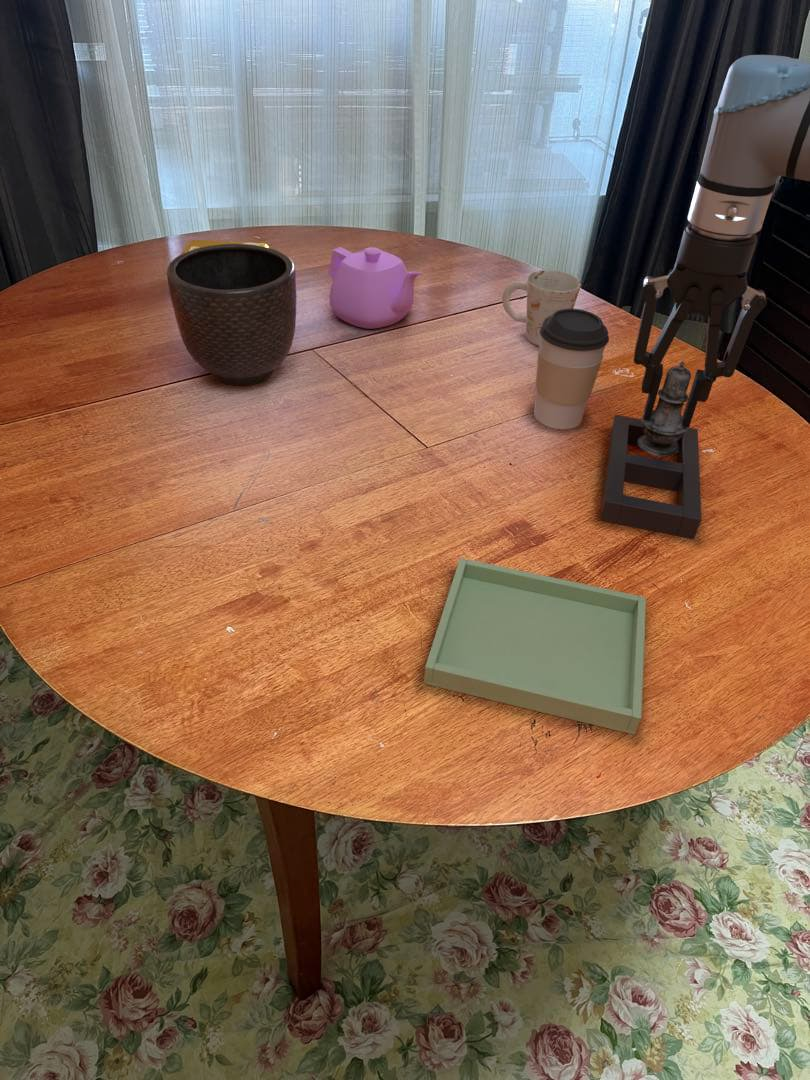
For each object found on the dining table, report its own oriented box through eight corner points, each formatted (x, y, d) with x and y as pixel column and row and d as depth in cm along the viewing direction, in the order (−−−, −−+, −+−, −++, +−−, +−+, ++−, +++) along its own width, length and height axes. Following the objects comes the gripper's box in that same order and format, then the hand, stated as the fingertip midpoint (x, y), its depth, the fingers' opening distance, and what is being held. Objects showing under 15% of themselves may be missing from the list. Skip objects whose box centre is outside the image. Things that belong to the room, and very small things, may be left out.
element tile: (192, 261, 144) (189, 236, 141) (271, 265, 145) (269, 239, 142) (174, 294, 133) (169, 267, 130) (260, 298, 133) (257, 271, 130)
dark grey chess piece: (665, 463, 95) (691, 378, 88) (626, 443, 99) (648, 359, 91) (690, 446, 99) (717, 362, 91) (651, 427, 102) (675, 345, 94)
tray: (640, 613, 80) (646, 596, 78) (634, 735, 68) (641, 718, 67) (458, 574, 83) (460, 557, 81) (423, 683, 72) (424, 666, 70)
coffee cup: (573, 396, 113) (594, 299, 103) (600, 429, 106) (625, 329, 96) (516, 402, 111) (532, 304, 101) (540, 436, 104) (559, 335, 94)
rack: (691, 447, 104) (697, 428, 102) (693, 539, 89) (701, 519, 87) (610, 432, 106) (614, 414, 104) (599, 520, 91) (604, 501, 89)
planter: (289, 405, 107) (282, 296, 97) (169, 396, 108) (148, 287, 97) (309, 348, 120) (304, 247, 110) (201, 340, 121) (186, 239, 110)
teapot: (391, 348, 122) (393, 280, 114) (305, 308, 131) (302, 243, 124) (443, 322, 129) (449, 258, 122) (359, 287, 139) (359, 224, 132)
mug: (558, 355, 122) (570, 295, 116) (487, 335, 126) (495, 276, 120) (576, 335, 128) (588, 277, 121) (507, 317, 132) (515, 260, 125)
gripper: (638, 230, 79) (595, 422, 95) (812, 250, 76) (739, 445, 92) (640, 208, 85) (599, 393, 100) (803, 226, 82) (735, 414, 97)
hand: (666, 417), depth 96 cm, fingers closed on dark grey chess piece, 4 cm apart
